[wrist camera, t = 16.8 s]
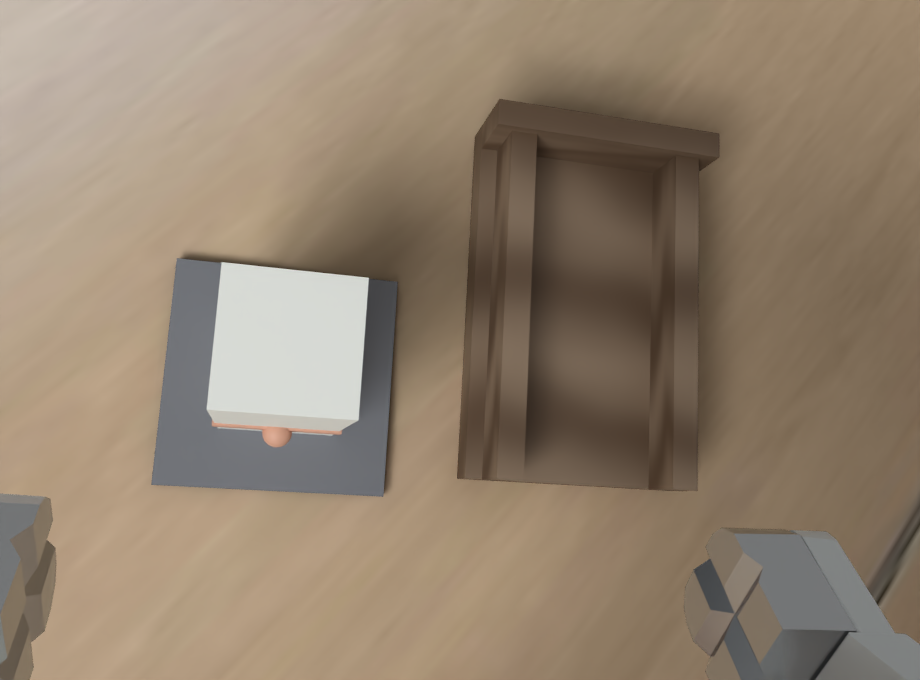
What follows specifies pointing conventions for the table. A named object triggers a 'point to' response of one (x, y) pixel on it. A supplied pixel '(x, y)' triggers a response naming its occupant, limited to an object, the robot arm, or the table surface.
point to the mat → (244, 451)
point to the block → (287, 351)
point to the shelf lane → (582, 301)
